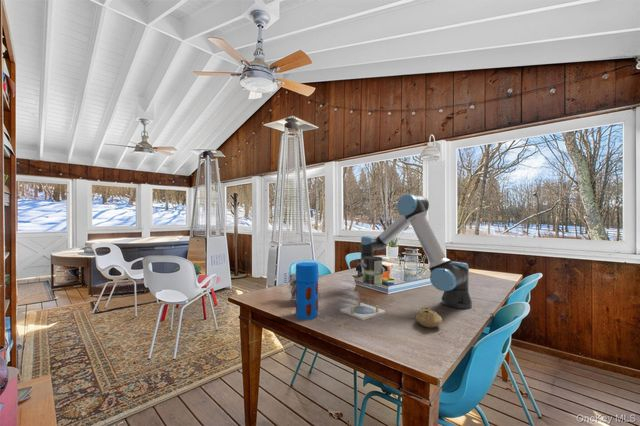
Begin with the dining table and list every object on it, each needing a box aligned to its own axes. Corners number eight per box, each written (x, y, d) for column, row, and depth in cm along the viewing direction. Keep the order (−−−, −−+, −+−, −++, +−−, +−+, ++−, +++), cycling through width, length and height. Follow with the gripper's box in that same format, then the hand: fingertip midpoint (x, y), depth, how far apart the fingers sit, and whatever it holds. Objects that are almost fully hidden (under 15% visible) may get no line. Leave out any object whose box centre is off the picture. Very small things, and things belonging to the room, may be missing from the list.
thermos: (321, 313, 144) (321, 263, 144) (312, 321, 135) (312, 266, 134) (302, 310, 149) (302, 261, 149) (291, 317, 139) (291, 265, 139)
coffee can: (364, 286, 152) (364, 258, 152) (361, 281, 163) (361, 256, 163) (384, 286, 152) (384, 258, 152) (380, 281, 163) (380, 256, 163)
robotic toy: (304, 296, 174) (304, 271, 174) (314, 305, 158) (314, 277, 158) (283, 298, 170) (283, 272, 170) (291, 307, 153) (291, 279, 153)
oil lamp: (432, 318, 139) (432, 301, 139) (447, 331, 124) (447, 312, 124) (409, 318, 138) (409, 301, 138) (421, 331, 123) (421, 312, 123)
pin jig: (385, 312, 146) (385, 304, 146) (363, 320, 136) (363, 311, 136) (362, 304, 158) (362, 297, 158) (340, 311, 148) (340, 303, 148)
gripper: (387, 270, 175) (395, 279, 153) (349, 269, 176) (351, 278, 154) (387, 257, 175) (395, 264, 152) (349, 257, 176) (351, 264, 154)
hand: (373, 271), depth 153 cm, fingers closed on coffee can, 10 cm apart
